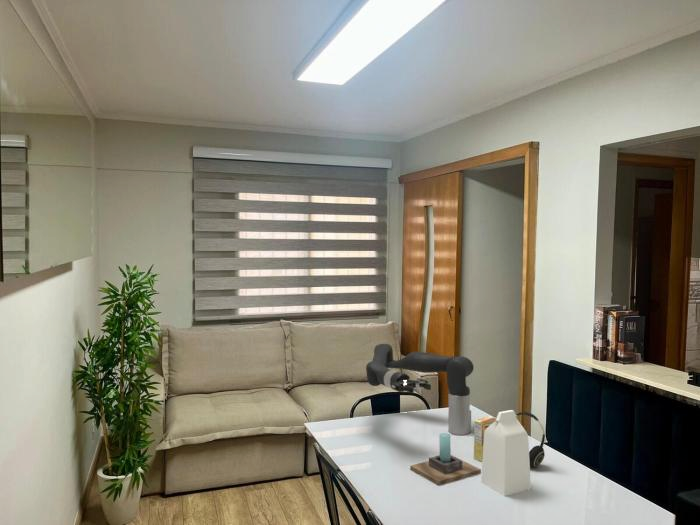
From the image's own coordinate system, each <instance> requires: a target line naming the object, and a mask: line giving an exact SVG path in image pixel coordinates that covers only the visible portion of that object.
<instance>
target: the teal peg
mask: <svg viewBox="0 0 700 525" xmlns="http://www.w3.org/2000/svg"><path fill="white" fill-rule="evenodd" d="M438 437H439V440H438V441H439V455H440V461H441V462H443V463H448V462H451V455H452V454H451V452H452V450H451V433H447V432H446V433H439V435H438Z"/></svg>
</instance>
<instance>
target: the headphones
mask: <svg viewBox="0 0 700 525" xmlns="http://www.w3.org/2000/svg"><path fill="white" fill-rule="evenodd" d="M515 415H516V417H518V416H521V415H525V416H527V417H528V416H529V417H531V418H532V419H534V420H535V421H536V422H537V423H538V424H539V425H540V428H541V430H542V438H541V442H540V444H539V445H535V446H533V447H532V448H531V449H529V461H530V468H536V467H538V466H540V465H541V464H542V462H544V461H543V460H544V458H545V455H546V453H545V450H544V448H543V447H544V444H545V441H546V439H545V437H546V434H545V429H544V426H543V424H542V423H541V422H540V419H539V418H538V417H537V416H536V415H535V414H533V413H531V412H528V411H527V412H526V411H521V412H518V413H517V414H515Z"/></svg>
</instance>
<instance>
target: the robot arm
mask: <svg viewBox="0 0 700 525" xmlns="http://www.w3.org/2000/svg"><path fill="white" fill-rule="evenodd" d="M373 353H374V354H373V358H372V360H371V361H369V362H368V363H367V364H366V366H365V370H366V379H367V383H368V384H369V385H370V386H373V387H378V386H380V385H382V386H385V387H387V388H389V389H392V390H394V391H396V392H398V393H406V392H407V393H410V394H413V393H414V390H420V389H424V390H426V391H427V390H428V391H431V389H432V385H431V384H430V383H429V381H428V380H425V379H422V378H416V379H414V378H411V377H410V376H409V375H408V374H407V373H404V372H401V371H397V370H393V369H398V370H407V371H411V372H418V373H424V374H425V373H427V374H428V373H429V374H431V373H446V386H447V389H448V419H447V420H448V427H447V428H448V433H449V434H453V435H456V436H465V435H469V434H470V433H471V432H472V410H470V409H471V408H470V407H471V405H470V404H471V401H470V400H471V399H470V398H471V397H470V396H471V394H470V392H471V390H470V387H469V386H467V382H466V381H467V377H469V376H470V375H471V374H472V373H473V371H474V364H473V362H472V360H471V359H470V358H468V357H466V356H450V355H449V356H446V355H440V354H435V353H429V352H422V351H412V352H410V353H409V354H407V355H406V356H404V357H402V358H401V359H398V360H396V359H394V352H393V346H392V345H391V344H389V343H379V344H377V345H375V347H374V349H373Z"/></svg>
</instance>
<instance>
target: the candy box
mask: <svg viewBox="0 0 700 525" xmlns="http://www.w3.org/2000/svg"><path fill="white" fill-rule="evenodd" d="M495 421H496V418H495V417H493V416H485V417H482V418H478V419H476V420H474V423H473V424H474V425H473V426H474V429H473V430H474V431H473V436H474V437H473V459H474V460H476V461H478V462H481V463H482V460H483V443H484V432H485V430H486V428H487V427H489V426H490V425H491V424H492V423H493V422H495Z"/></svg>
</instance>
